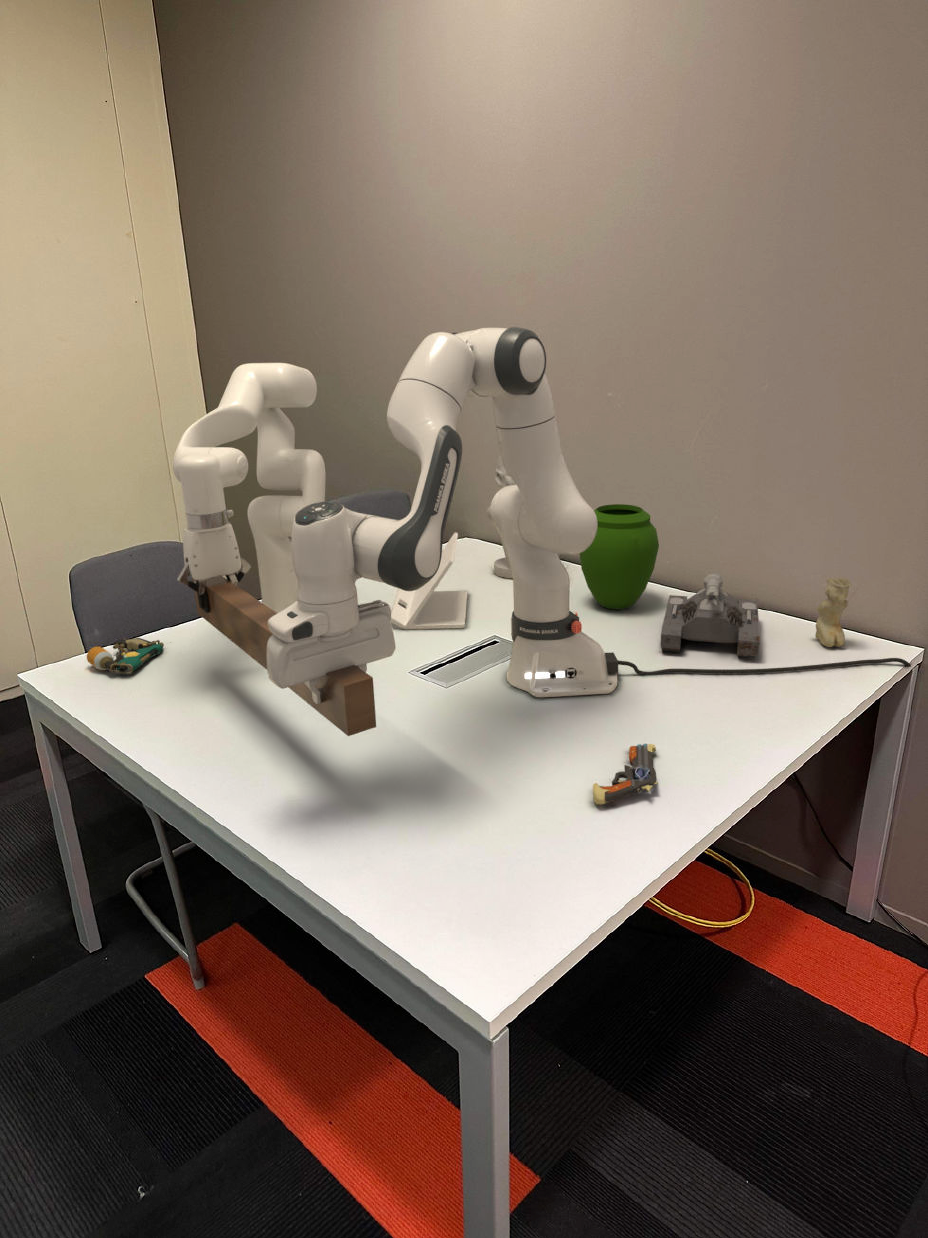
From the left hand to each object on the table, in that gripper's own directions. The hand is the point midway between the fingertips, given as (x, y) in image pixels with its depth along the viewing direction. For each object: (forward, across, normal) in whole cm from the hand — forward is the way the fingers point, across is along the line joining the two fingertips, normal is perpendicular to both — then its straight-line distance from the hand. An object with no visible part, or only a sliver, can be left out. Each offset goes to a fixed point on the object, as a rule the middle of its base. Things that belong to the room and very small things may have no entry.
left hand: (219, 606), depth 172 cm
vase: (+17, -94, +17) cm, 97 cm away
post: (+3, 0, +26) cm, 26 cm away
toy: (+17, -95, +45) cm, 107 cm away
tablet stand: (+17, -56, -9) cm, 59 cm away
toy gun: (+16, -38, +77) cm, 87 cm away
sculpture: (+17, -112, +64) cm, 130 cm away
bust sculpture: (+17, -92, -17) cm, 95 cm away
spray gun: (+17, +14, -24) cm, 33 cm away
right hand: (0, 0, +52) cm, 52 cm away
